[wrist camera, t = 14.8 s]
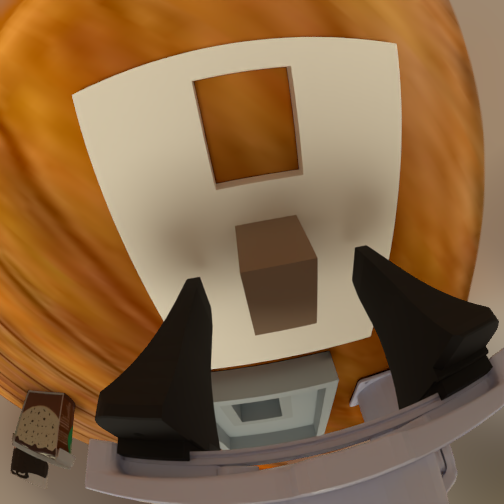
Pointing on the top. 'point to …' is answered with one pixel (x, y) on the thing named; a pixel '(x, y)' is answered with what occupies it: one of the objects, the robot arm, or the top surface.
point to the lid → (255, 190)
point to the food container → (46, 427)
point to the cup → (29, 468)
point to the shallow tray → (274, 401)
